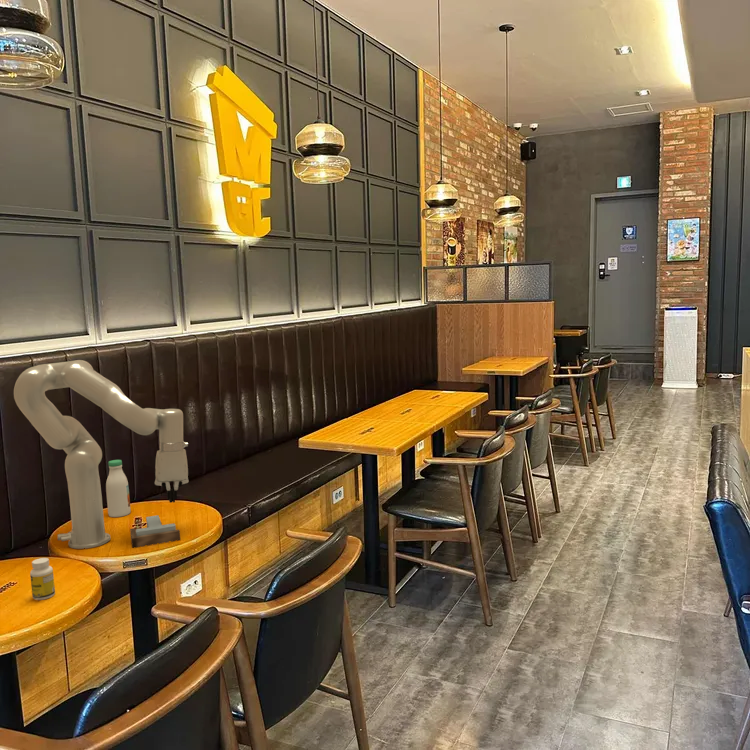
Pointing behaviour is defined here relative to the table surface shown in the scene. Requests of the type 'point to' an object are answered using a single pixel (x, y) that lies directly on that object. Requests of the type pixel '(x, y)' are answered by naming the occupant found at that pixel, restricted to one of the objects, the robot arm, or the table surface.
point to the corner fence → (153, 538)
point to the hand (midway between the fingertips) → (171, 501)
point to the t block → (155, 526)
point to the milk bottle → (117, 490)
